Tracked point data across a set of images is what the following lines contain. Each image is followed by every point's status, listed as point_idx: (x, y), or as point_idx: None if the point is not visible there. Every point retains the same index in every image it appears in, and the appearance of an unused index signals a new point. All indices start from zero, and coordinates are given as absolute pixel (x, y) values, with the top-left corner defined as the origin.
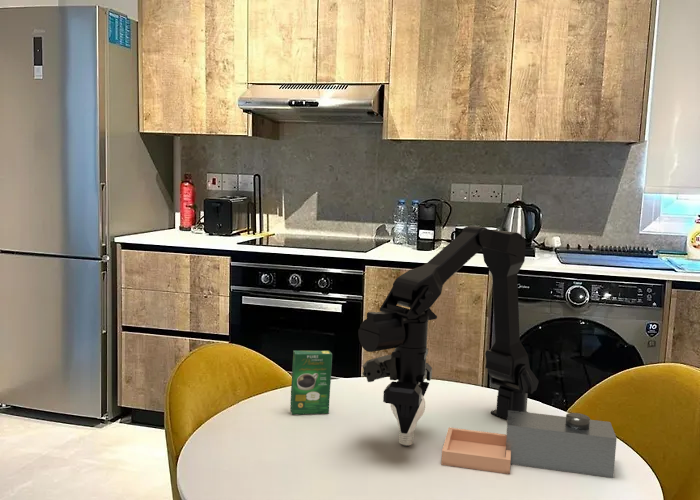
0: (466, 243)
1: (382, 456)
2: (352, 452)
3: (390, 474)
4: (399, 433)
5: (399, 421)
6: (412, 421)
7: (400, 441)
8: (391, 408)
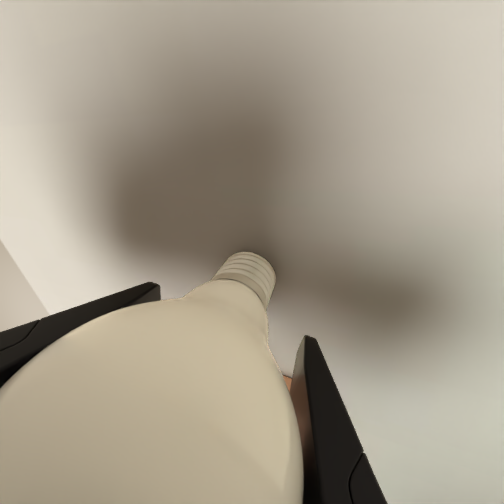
0: None
1: (143, 177)
2: (131, 27)
3: (47, 198)
4: (233, 269)
5: (81, 307)
6: None
7: (230, 257)
8: (114, 318)
